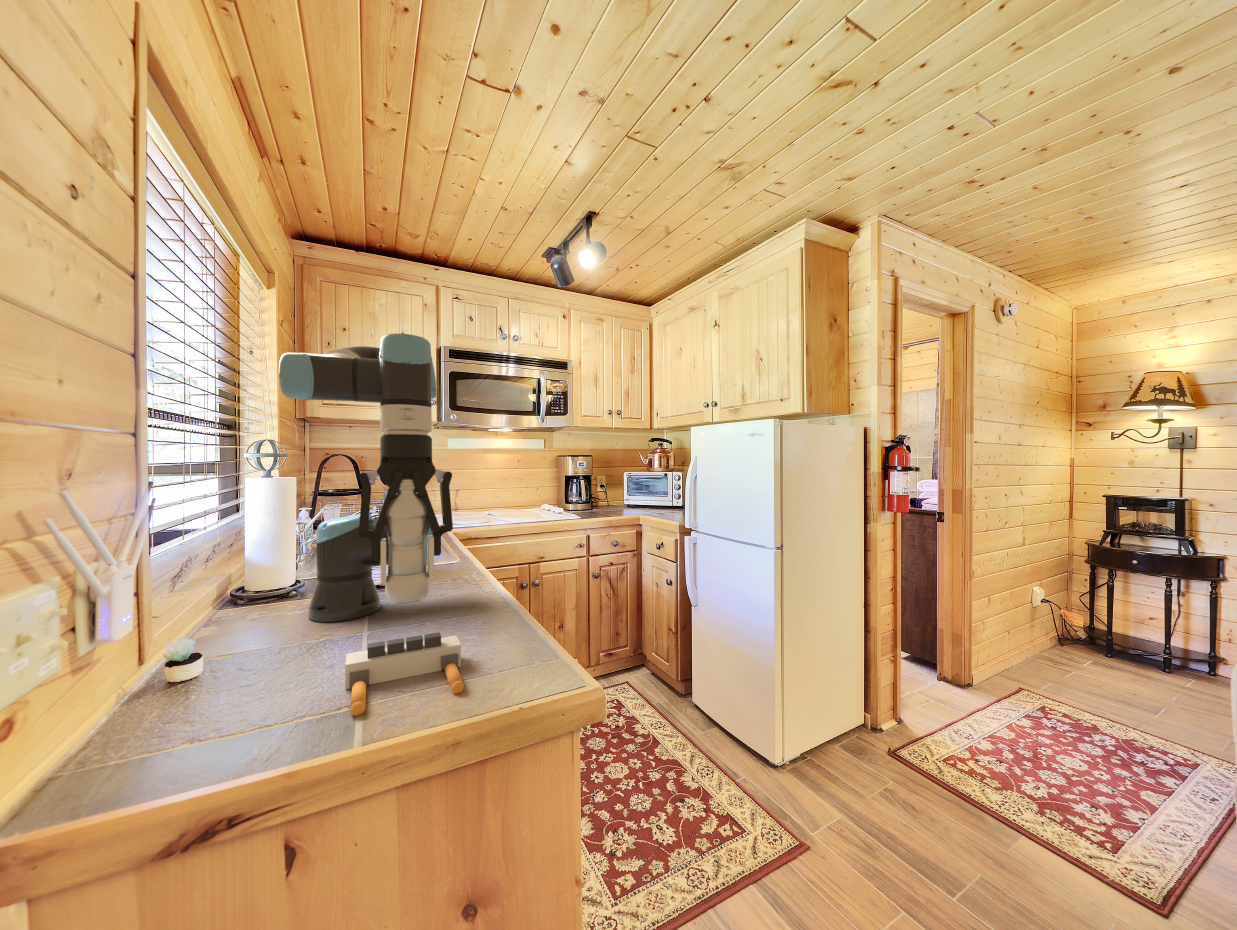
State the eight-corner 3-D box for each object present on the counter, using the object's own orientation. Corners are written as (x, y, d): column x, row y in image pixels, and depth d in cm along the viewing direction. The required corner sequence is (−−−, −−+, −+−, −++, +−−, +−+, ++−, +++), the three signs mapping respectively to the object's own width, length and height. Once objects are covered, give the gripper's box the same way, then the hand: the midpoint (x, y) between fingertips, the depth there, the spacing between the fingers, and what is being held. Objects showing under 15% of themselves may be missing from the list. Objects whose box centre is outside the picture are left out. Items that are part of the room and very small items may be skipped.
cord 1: (352, 692, 76) (352, 680, 76) (366, 689, 77) (366, 677, 77) (349, 720, 68) (349, 706, 68) (365, 716, 69) (365, 703, 69)
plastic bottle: (438, 597, 78) (437, 477, 78) (412, 610, 71) (411, 478, 71) (403, 595, 79) (402, 476, 79) (375, 608, 73) (374, 478, 73)
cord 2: (444, 674, 82) (444, 662, 82) (456, 671, 83) (456, 660, 83) (451, 697, 74) (451, 684, 74) (464, 694, 75) (464, 682, 75)
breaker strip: (347, 676, 81) (346, 643, 81) (456, 656, 89) (456, 625, 89) (345, 691, 76) (344, 655, 76) (461, 668, 84) (461, 636, 84)
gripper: (334, 431, 67) (336, 592, 68) (473, 434, 76) (473, 576, 77) (338, 433, 74) (339, 580, 74) (464, 436, 83) (465, 567, 83)
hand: (407, 578), depth 75 cm, fingers closed on plastic bottle, 6 cm apart
